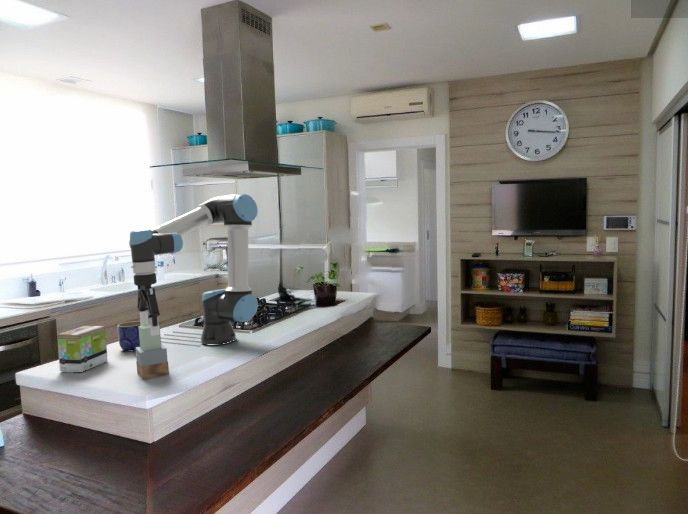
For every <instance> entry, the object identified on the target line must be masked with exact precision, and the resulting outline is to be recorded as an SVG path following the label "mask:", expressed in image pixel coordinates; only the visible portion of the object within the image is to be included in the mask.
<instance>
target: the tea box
mask: <svg viewBox="0 0 688 514" xmlns="http://www.w3.org/2000/svg"><path fill="white" fill-rule="evenodd" d="M107 347H108V346H107V333H106V326H104V325H82V326H80V327H77V328H73V329H70V330H67V331H64V332H60V333H57V348H58V349H57V350H58V361H59V372H60V371H62V372H61V373H73V372H82V373H83V371H84V372H85V370H86V371H88V370H90V369H93V368H94V367H97V366H100V365H102V364H104V362H105V363H107V362H108V348H107ZM106 361H107V362H106Z"/></svg>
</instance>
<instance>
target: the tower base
mask: <svg viewBox="0 0 688 514" xmlns="http://www.w3.org/2000/svg"><path fill="white" fill-rule="evenodd" d="M135 363H136V371H137V372H136V374H137V376H139V378H140V379H141V380H142V381H145V380H150V379H154V378H160V377H164V376H170V371H169V370H170V368H169V361H168V362H164V363H159V364H153V365H148V366H143V367H141V366H140V365H139V363H138V362H137V360H136V362H135Z"/></svg>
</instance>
